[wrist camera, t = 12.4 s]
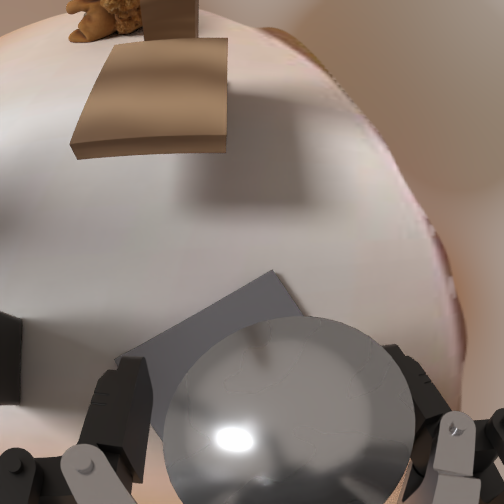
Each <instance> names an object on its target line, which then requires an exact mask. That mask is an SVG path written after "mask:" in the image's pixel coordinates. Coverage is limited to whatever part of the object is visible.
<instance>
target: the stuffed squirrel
mask: <svg viewBox="0 0 504 504" xmlns="http://www.w3.org/2000/svg"><path fill="white" fill-rule="evenodd" d="M66 10H67V13H68V14H75V13H77V12H80V11H84V12H86V13H85V14H84V17H83V19H82V20H81V22H80V23H79V24H78V28H79V29H76V30H75V31H73V32H72V33H71V34H70V36H69V41H70V42H91V41H95V40H98V39H101V38H103V37H106V36H108V35H110V34H112V33H114V32H116V31H118V34H129V33H132V32H133V31H134V30H136V29H138V28H140V27H142V26H143V25H142V16H141V7H140V0H72V1H70V2H69V3H68V4H67V6H66Z"/></svg>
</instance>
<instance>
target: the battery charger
mask: <svg viewBox="0 0 504 504" xmlns="http://www.w3.org/2000/svg"><path fill="white" fill-rule="evenodd" d="M21 333H22V320H21V319H20V318H17V317H15V316H12V315H10V314H7V313H4V312H2V311H0V405H19V404H20V357H21Z"/></svg>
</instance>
